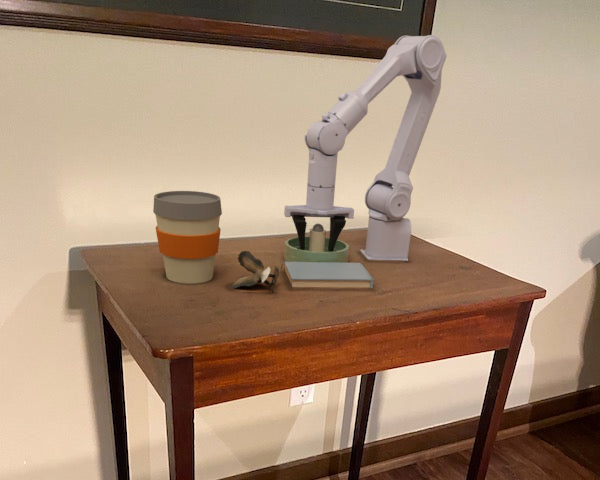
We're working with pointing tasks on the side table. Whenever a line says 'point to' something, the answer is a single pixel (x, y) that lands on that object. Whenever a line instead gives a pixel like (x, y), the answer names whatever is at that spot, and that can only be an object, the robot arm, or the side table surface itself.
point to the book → (328, 274)
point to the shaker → (317, 238)
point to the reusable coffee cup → (188, 234)
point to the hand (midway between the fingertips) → (316, 251)
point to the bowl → (297, 255)
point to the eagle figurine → (255, 271)
